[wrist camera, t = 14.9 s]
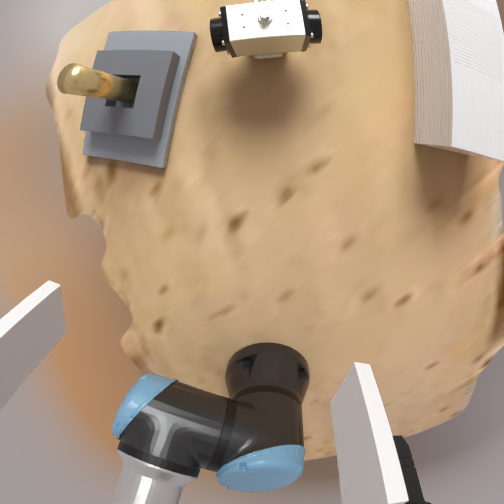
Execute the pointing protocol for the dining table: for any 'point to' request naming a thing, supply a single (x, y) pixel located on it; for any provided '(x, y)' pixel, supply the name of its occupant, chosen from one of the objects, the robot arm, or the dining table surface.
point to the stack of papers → (459, 76)
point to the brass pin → (96, 84)
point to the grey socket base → (139, 96)
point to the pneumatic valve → (265, 28)
